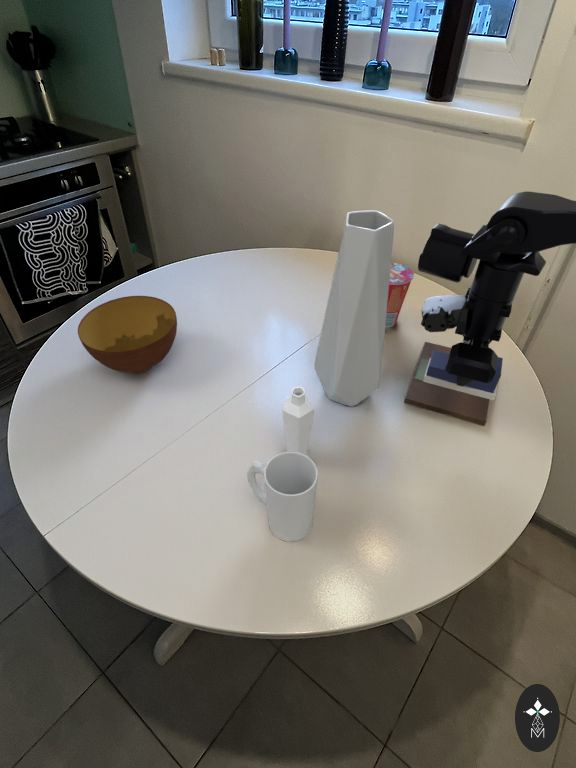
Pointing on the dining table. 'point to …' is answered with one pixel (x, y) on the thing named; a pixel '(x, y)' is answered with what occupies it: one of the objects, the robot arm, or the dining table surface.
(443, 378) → the blue stepped block
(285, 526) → the mug
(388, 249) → the vase
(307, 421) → the perfume bottle
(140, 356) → the bowl
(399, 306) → the cup
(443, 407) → the brown flat slab
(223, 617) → the dining table surface
